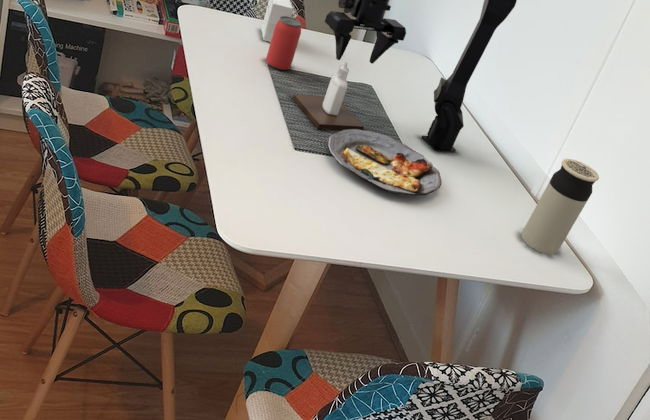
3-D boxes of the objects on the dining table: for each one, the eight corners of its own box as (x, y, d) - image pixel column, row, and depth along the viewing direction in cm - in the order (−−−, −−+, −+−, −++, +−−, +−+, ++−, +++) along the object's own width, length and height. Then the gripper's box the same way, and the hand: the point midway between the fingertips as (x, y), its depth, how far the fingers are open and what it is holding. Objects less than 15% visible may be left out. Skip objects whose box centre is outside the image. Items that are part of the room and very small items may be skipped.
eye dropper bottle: (318, 111, 168) (334, 63, 162) (323, 102, 173) (339, 55, 167) (336, 117, 168) (353, 70, 162) (340, 109, 173) (357, 62, 167)
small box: (282, 45, 200) (293, 8, 195) (262, 40, 199) (272, 3, 193) (280, 34, 207) (290, -2, 201) (260, 29, 205) (270, -7, 200)
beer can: (261, 58, 188) (273, 13, 182) (284, 60, 191) (297, 17, 185) (270, 69, 183) (283, 24, 177) (294, 72, 186) (307, 27, 180)
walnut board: (362, 131, 169) (364, 126, 169) (318, 128, 163) (319, 124, 162) (335, 101, 179) (337, 97, 178) (292, 98, 173) (294, 93, 172)
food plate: (452, 180, 162) (459, 167, 160) (412, 216, 143) (418, 201, 141) (357, 129, 169) (362, 115, 168) (306, 156, 151) (311, 141, 149)
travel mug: (541, 258, 145) (585, 182, 136) (513, 234, 150) (553, 159, 141) (564, 252, 150) (608, 178, 141) (536, 229, 155) (576, 156, 146)
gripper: (392, -13, 171) (370, 49, 179) (324, -25, 161) (304, 42, 169) (418, 6, 163) (394, 70, 171) (348, -5, 153) (326, 64, 161)
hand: (354, 61), depth 168 cm, fingers open, 9 cm apart
